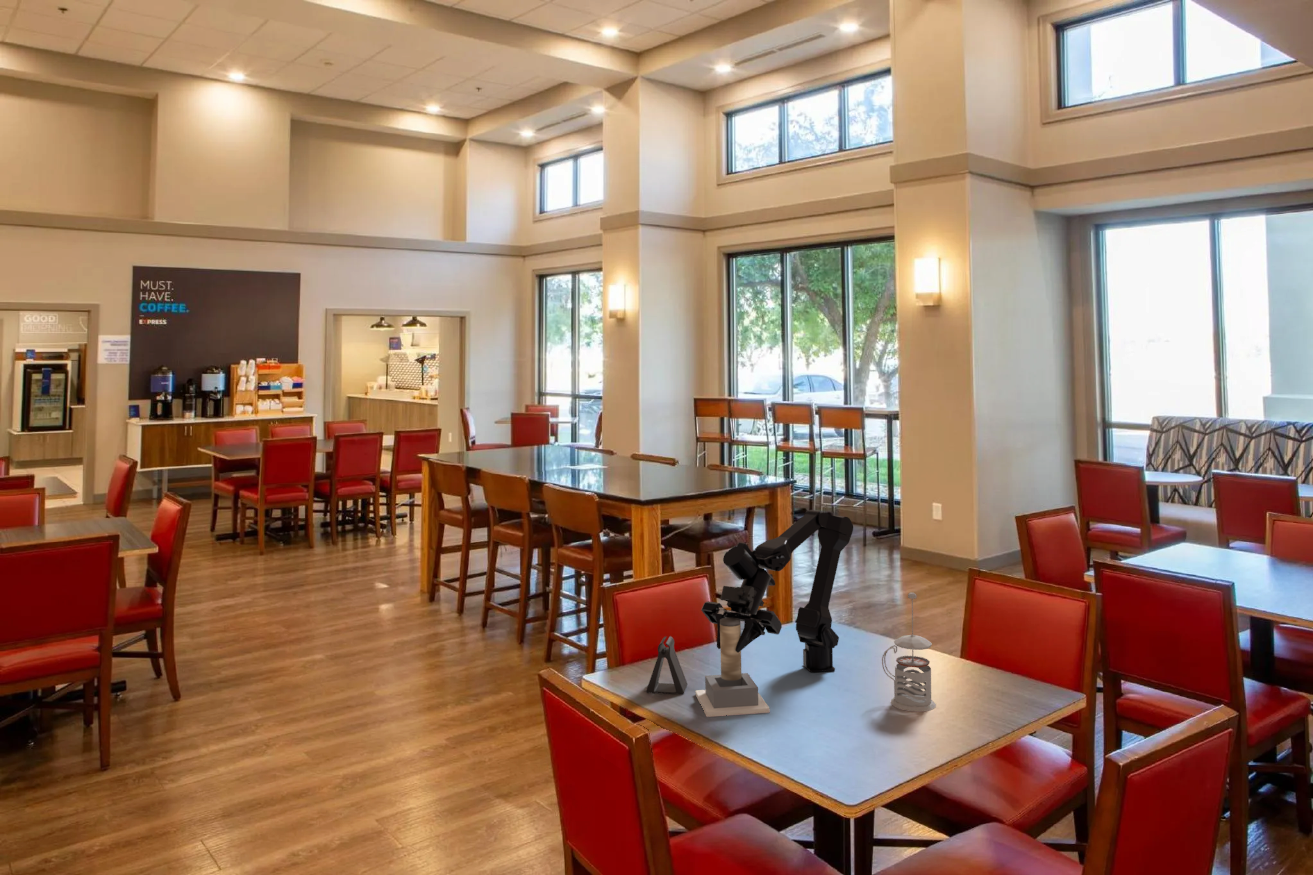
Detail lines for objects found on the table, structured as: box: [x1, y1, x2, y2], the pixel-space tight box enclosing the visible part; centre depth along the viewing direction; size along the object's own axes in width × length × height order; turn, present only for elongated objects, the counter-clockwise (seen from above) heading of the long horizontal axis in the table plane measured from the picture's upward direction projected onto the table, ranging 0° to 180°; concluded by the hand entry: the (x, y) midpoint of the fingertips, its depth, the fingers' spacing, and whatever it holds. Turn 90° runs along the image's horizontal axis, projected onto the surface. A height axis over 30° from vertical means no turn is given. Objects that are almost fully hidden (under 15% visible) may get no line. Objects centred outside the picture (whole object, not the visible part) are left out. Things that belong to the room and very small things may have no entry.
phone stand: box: [645, 635, 688, 695], centre depth 201 cm, size 9×6×12 cm, turn 79°
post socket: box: [694, 672, 771, 718], centre depth 191 cm, size 14×14×5 cm
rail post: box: [719, 617, 742, 681], centre depth 191 cm, size 5×5×13 cm
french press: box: [881, 592, 937, 712], centre depth 189 cm, size 10×12×25 cm
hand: (727, 649), depth 190 cm, fingers closed on rail post, 5 cm apart
